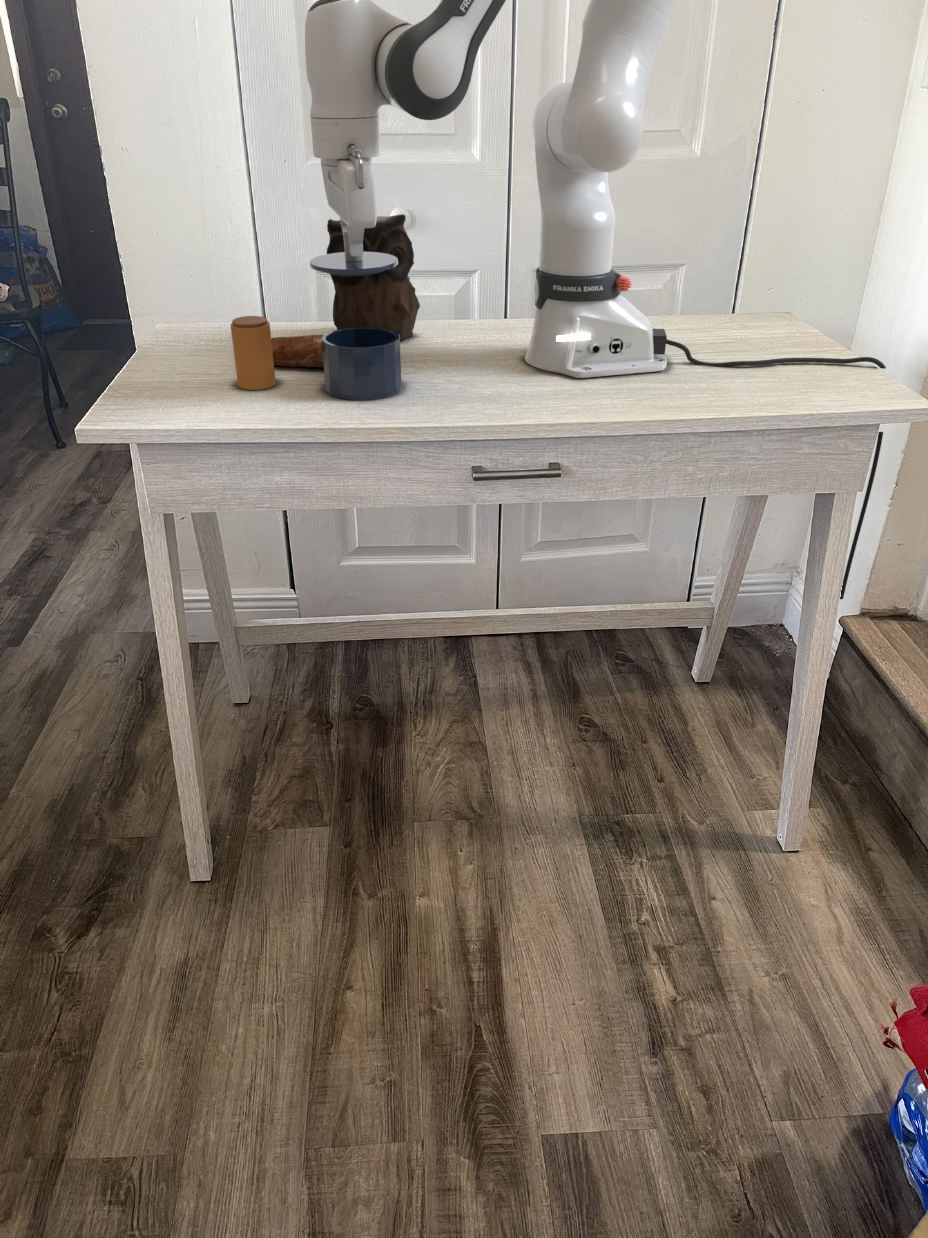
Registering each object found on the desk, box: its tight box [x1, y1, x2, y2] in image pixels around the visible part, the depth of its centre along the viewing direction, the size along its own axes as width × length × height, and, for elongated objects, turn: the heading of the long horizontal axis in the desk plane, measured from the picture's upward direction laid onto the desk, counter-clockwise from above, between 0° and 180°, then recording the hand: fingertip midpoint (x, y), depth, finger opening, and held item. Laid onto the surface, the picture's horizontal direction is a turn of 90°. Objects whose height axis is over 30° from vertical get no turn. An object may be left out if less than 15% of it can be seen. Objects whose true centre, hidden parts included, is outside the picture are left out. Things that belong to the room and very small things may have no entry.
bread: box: [271, 333, 326, 369], centre depth 148 cm, size 6×19×6 cm, turn 80°
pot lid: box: [309, 231, 398, 276], centre depth 130 cm, size 12×12×5 cm
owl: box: [326, 213, 421, 342], centre depth 158 cm, size 13×13×20 cm
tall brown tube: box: [229, 315, 277, 391], centre depth 139 cm, size 6×6×10 cm
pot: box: [322, 327, 402, 401], centre depth 138 cm, size 11×11×8 cm
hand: (353, 252), depth 131 cm, fingers closed on pot lid, 2 cm apart
